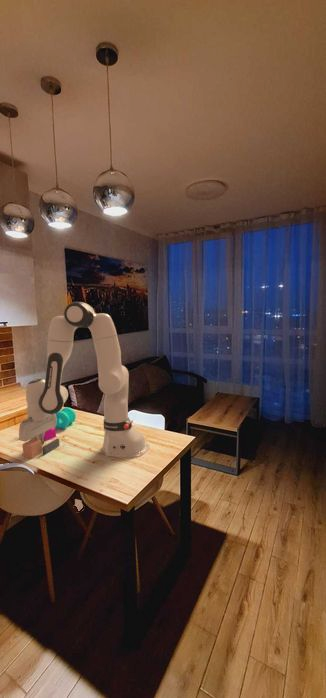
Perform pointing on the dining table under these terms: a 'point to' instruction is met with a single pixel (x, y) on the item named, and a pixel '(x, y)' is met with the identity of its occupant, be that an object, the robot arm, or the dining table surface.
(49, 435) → the toy block
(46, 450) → the guide channel
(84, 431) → the dining table surface
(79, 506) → the vase
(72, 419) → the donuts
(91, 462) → the dining table surface
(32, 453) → the terracotta block
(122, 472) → the dining table surface
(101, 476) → the dining table surface
